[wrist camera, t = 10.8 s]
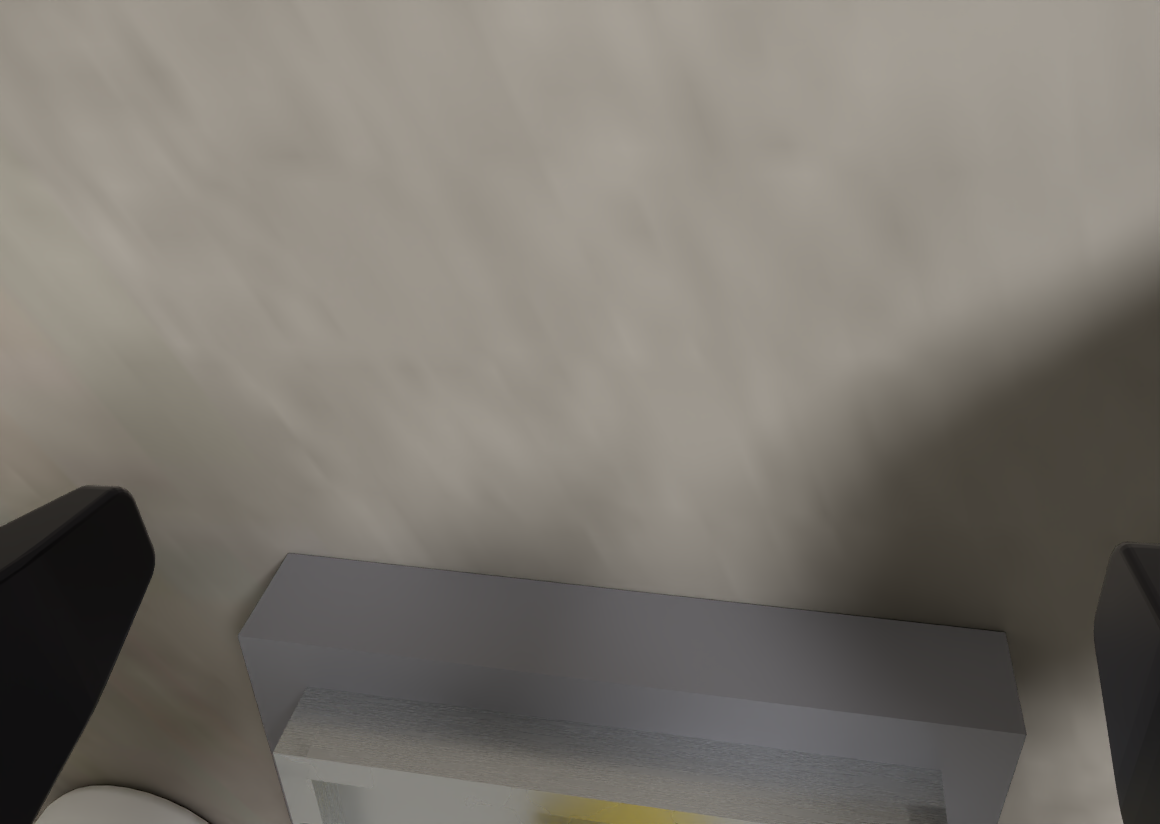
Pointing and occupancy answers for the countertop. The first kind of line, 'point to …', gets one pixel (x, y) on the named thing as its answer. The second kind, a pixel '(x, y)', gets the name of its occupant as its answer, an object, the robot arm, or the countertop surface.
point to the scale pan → (566, 772)
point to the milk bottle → (115, 808)
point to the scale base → (645, 667)
